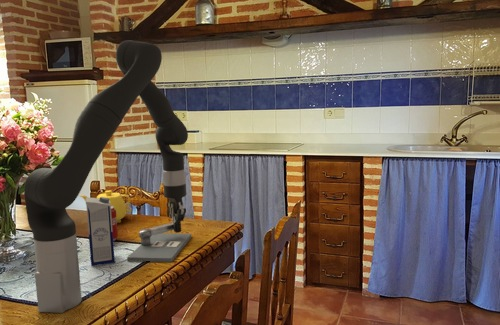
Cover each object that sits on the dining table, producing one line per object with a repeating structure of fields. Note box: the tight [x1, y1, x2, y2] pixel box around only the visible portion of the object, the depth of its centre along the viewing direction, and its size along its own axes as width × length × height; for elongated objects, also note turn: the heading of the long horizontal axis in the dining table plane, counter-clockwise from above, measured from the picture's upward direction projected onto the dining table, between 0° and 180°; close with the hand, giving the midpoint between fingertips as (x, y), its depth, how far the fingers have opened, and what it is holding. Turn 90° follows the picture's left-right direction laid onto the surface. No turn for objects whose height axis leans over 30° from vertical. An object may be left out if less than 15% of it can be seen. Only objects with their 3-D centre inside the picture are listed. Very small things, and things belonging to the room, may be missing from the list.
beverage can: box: [111, 206, 119, 242], centre depth 148 cm, size 6×6×12 cm
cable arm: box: [138, 221, 174, 239], centre depth 143 cm, size 4×15×2 cm, turn 134°
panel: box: [126, 232, 193, 263], centre depth 139 cm, size 24×14×4 cm, turn 173°
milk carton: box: [85, 196, 116, 267], centre depth 128 cm, size 7×7×20 cm
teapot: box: [78, 189, 132, 224], centre depth 173 cm, size 14×20×13 cm
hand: (177, 231), depth 145 cm, fingers closed
